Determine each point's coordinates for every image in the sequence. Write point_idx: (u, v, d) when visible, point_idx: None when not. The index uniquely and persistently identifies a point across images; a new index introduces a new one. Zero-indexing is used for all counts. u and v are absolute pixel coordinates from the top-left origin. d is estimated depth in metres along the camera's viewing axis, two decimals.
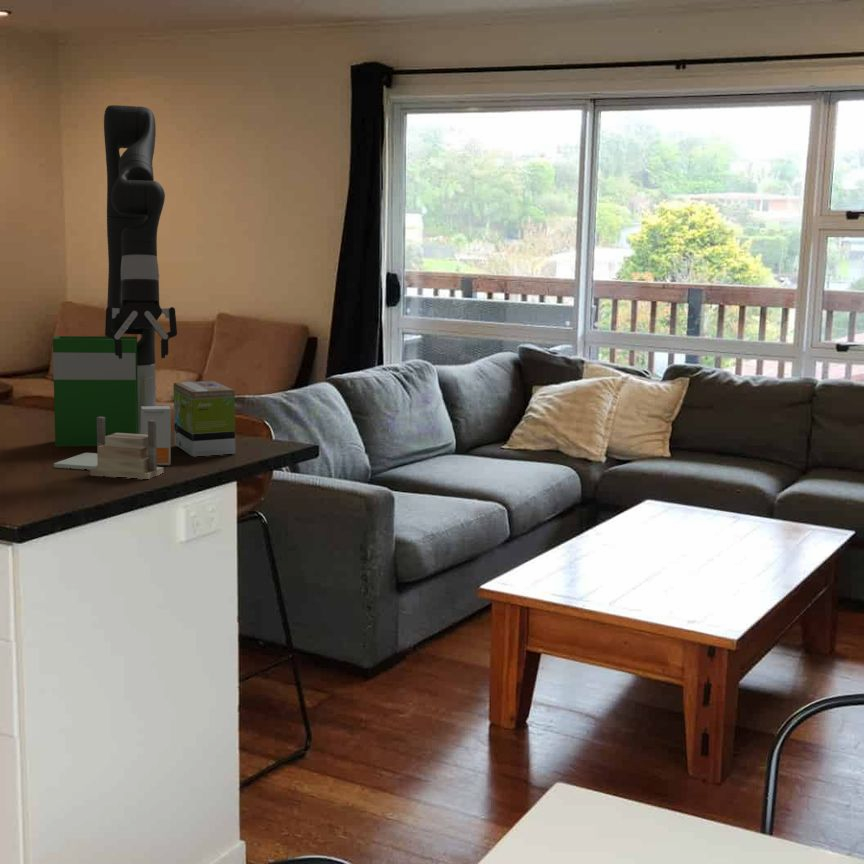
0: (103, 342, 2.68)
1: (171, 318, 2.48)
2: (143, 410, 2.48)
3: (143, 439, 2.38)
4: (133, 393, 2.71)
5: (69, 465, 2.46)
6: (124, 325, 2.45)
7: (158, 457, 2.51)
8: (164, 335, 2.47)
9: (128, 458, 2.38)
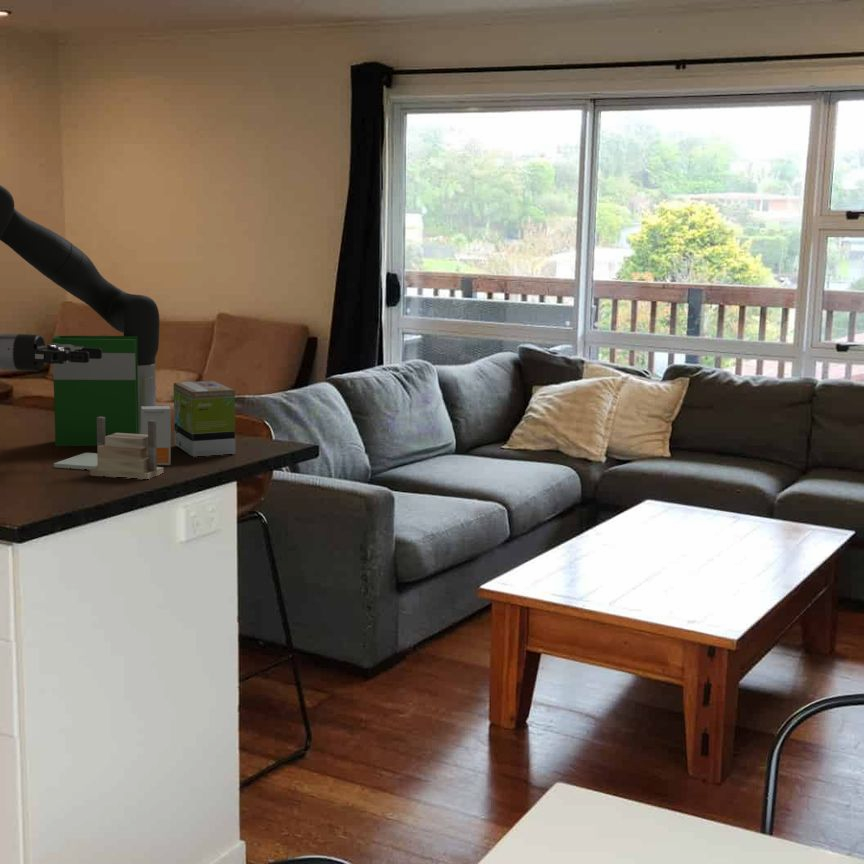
0: (103, 342, 2.68)
1: None
2: (143, 410, 2.48)
3: (143, 439, 2.38)
4: (133, 393, 2.71)
5: (69, 465, 2.46)
6: None
7: (158, 457, 2.51)
8: None
9: (128, 458, 2.38)
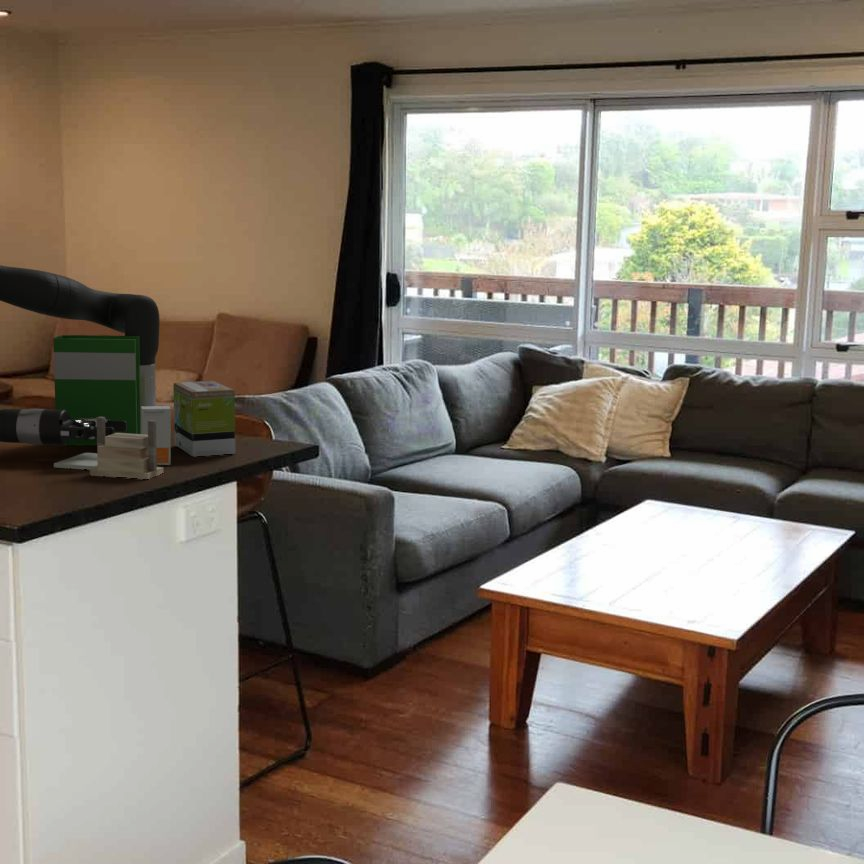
0: (103, 342, 2.68)
1: None
2: (143, 410, 2.48)
3: (143, 439, 2.38)
4: (133, 393, 2.71)
5: (69, 465, 2.46)
6: None
7: (158, 457, 2.51)
8: None
9: (128, 458, 2.38)
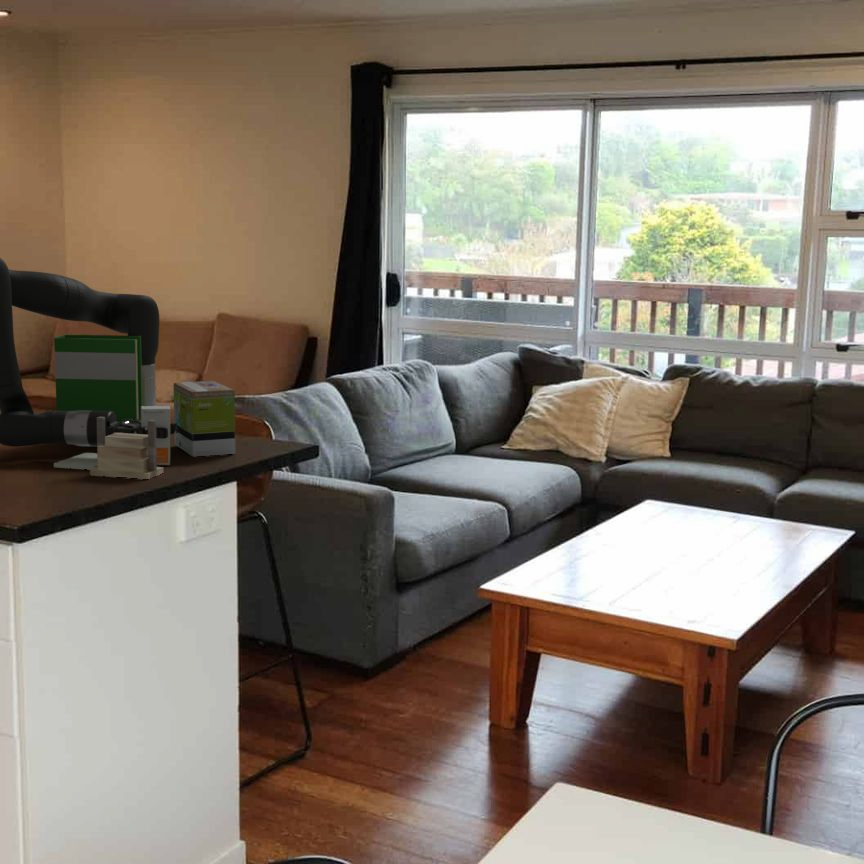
0: (103, 342, 2.68)
1: None
2: (143, 410, 2.48)
3: (143, 439, 2.38)
4: (133, 393, 2.71)
5: (69, 465, 2.46)
6: None
7: (158, 457, 2.51)
8: None
9: (128, 458, 2.38)
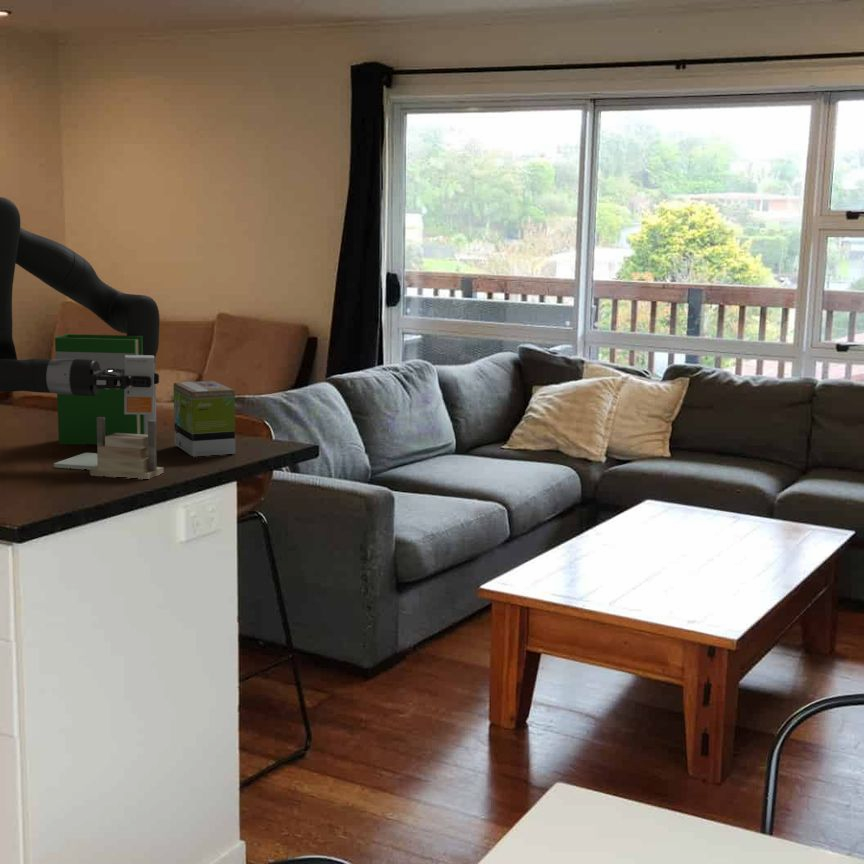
0: (103, 342, 2.68)
1: None
2: (126, 358, 2.46)
3: (143, 439, 2.38)
4: None
5: (69, 465, 2.46)
6: None
7: (141, 406, 2.49)
8: None
9: (128, 458, 2.38)
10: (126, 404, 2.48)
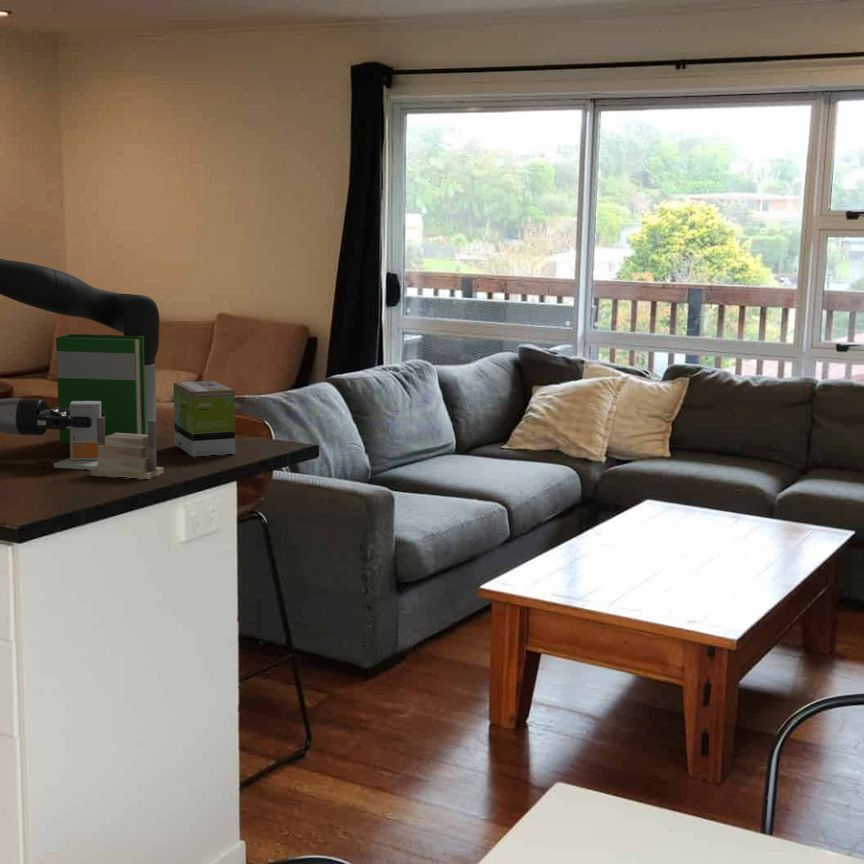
0: (104, 342, 2.69)
1: None
2: (71, 405, 2.48)
3: (143, 439, 2.38)
4: (133, 393, 2.71)
5: (69, 465, 2.46)
6: None
7: (87, 452, 2.50)
8: None
9: (128, 458, 2.38)
10: (71, 450, 2.49)
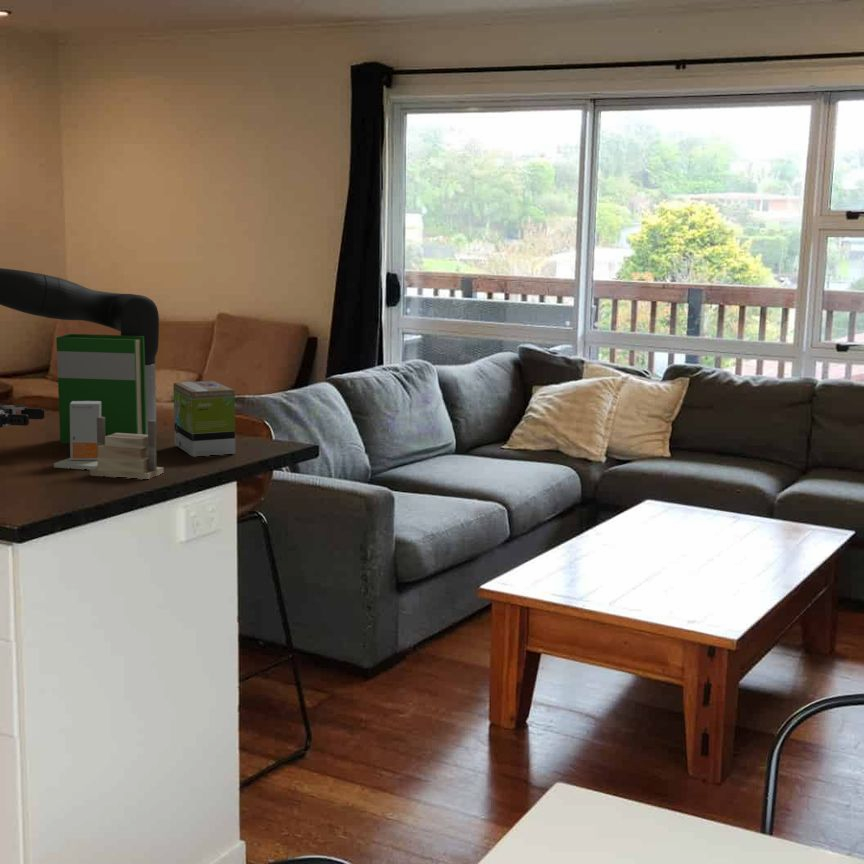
0: (104, 342, 2.69)
1: None
2: (71, 405, 2.48)
3: (143, 439, 2.38)
4: (133, 393, 2.71)
5: (69, 465, 2.46)
6: None
7: (87, 452, 2.50)
8: None
9: (128, 458, 2.38)
10: (71, 450, 2.49)
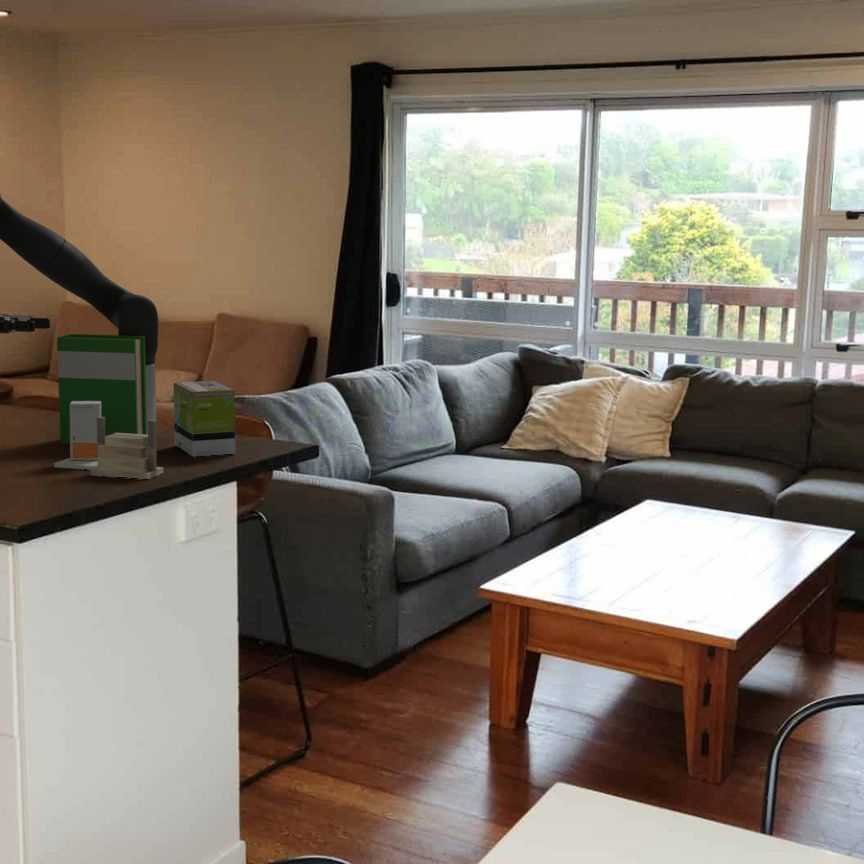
0: (104, 342, 2.69)
1: None
2: (71, 405, 2.48)
3: (143, 439, 2.38)
4: (133, 393, 2.71)
5: (69, 465, 2.46)
6: None
7: (87, 452, 2.50)
8: None
9: (128, 458, 2.38)
10: (71, 450, 2.49)
